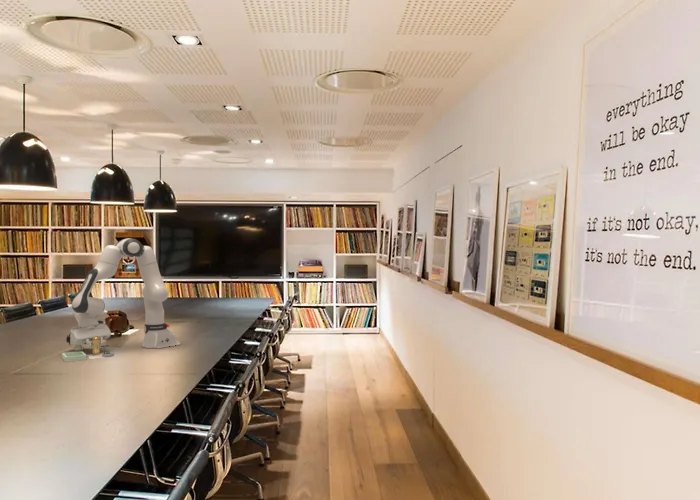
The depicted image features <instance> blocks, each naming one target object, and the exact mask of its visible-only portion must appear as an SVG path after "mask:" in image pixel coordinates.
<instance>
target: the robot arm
mask: <svg viewBox="0 0 700 500" xmlns="http://www.w3.org/2000/svg"><path fill="white" fill-rule="evenodd" d="M103 248H104V249H103V250H102V252H101V254H100V256H99V259H98V260H97V263H96V265H95V267H94V268H92V269H90V270H89V271H88V273H87V274H86V276H85V277H84V278H85V279H84V280H83V282H82V284H81V286H80V288H79V290H78V292H77V294H76V295H75V296H74V298H73V299H72V301H71V308H72V313H73V315H74V318H75V321H76V322H77V327H71V329H70V331H69V332H70V333H71V334H72V337H73V341H74V342H75V343H79V342H85V343H87V345H88V347H89V348H92V346H93V343H92V337H97V336H99V337H100V346H102V345H103V339H104V340H105V339H109V338H110V337H111V335H112V332H111V329H110V328H109V325H107V324H106V321H105V320H100V319H96V318H95V317H98V316H99V315H100V314H102V313H103V312H104V310H105V307H106V306H105V304H106V303H105V301H104V299H101V298H98V297H92V296H90V294H91V292H92V289H93V288H94V286H95V284H96V283H97V282H99V281H101V280H105V279H110V278H112V277H114V275H116V273H117V270H118V268H119V264H120V261H121V260H122V258H123V257H133V258H135V259H136V261H137V267H138V270H139V273H140V277H141V279H142V282H143V284H144V287H143V288H142V291H141V293H142V296H143V297H142V298H143V304H144V313H145V315H144V316H145V319H144V320H145V322H144V327H143V330H144V331H143V332H144V337H143V343H142V345H141V346H142V347H143V348H147V349H164V348H170V347H175V345H176V346H180V345H181V342H180V341H178V340H177V336H176V334H175V333H174V332H173V331H171V330H170V329H168V328H170V327H171V326H170V324H169V323H165V310H164V306H163V302H165V301H167V299H168V297H169V291H168V289H167V288H166V284H165V282H164V280H163V277H162V275H161V273H160V267H159V265H158V261H157V257H156V255H155V252H154V250H153V248H152V247H151V246H149V245H143V244H142V243H141V242H140V241H139V240H138V239H136V238H128V237H126V238H123V239H121V240H119V241H118V242H117V243H116V244H115V245H113V244H108V245H106V246H105V247H103ZM169 346H170V347H169Z"/></svg>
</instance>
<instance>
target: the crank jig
mask: <svg viewBox="0 0 700 500" xmlns="http://www.w3.org/2000/svg"><path fill="white" fill-rule="evenodd" d="M109 346H110V345H109V344H104V345H103V344H102V345H100V348H102V349H103V351H102V352H100V355H92V353H91V354H86V355H87V357H88V358H89V359H90V360H94V359H105V358H113V357H117V355H116V354H115V353H114V352H112V351H106V347H109Z"/></svg>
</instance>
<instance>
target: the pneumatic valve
mask: <svg viewBox="0 0 700 500" xmlns="http://www.w3.org/2000/svg"><path fill="white" fill-rule="evenodd" d="M66 343H68V345H69V346H70V345H71V346H72V345H73V347H72V351H74V352H78V351H83V350H84V348H85V347H84V346H83V345H86V344H87V343H85V342H79V343H75V342H74V341H73V337H72V334H71V332H70V333H69V334H68V335H66ZM87 345H88V344H87Z"/></svg>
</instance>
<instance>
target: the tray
mask: <svg viewBox="0 0 700 500" xmlns="http://www.w3.org/2000/svg"><path fill="white" fill-rule="evenodd" d="M87 355H88V354H86V353H85V352H84V351H83V350H79V351H71V352H70V351H69V352H62V353H61V358H62V360H63V361H64V362H65V363H70V362H72V363H73V362H79V361H87V357H88V356H87Z"/></svg>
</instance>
